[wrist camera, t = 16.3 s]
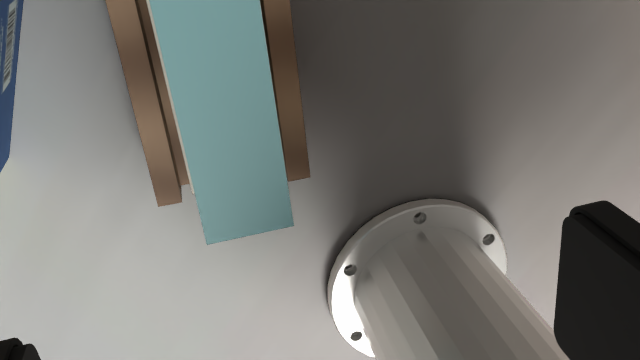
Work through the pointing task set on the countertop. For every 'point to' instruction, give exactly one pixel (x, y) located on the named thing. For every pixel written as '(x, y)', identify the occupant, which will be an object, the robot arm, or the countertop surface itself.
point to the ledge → (156, 107)
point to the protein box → (8, 69)
